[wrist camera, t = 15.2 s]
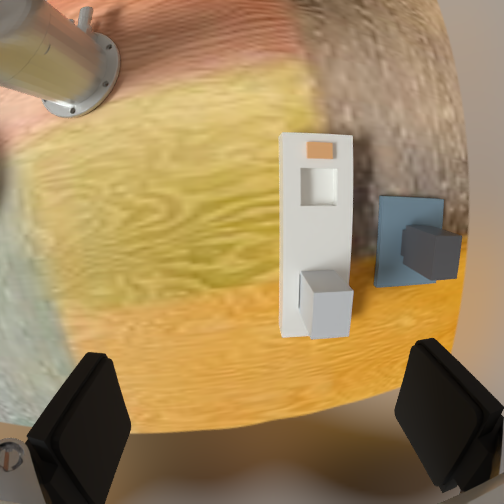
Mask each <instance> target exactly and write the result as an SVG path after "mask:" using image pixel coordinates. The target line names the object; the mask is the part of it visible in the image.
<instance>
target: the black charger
mask: <svg viewBox="0 0 504 504" xmlns="http://www.w3.org/2000/svg"><path fill="white" fill-rule="evenodd" d="M461 242H462V236H461V235H458V234H455V233H452V232H449V231H446V230H443V229H440V228H437V227H434V226H424V225H406V230H402V243H401V256H403V264H404V265H406V266H407V267H409V268H411V269H412V270H414V271H416V272H417V273H419V274H421V275H422V276H424V277H425V278H427V279H429V280H430V281H433V280H445V279H457V272H458V266H459V258H460V251H461Z"/></svg>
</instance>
